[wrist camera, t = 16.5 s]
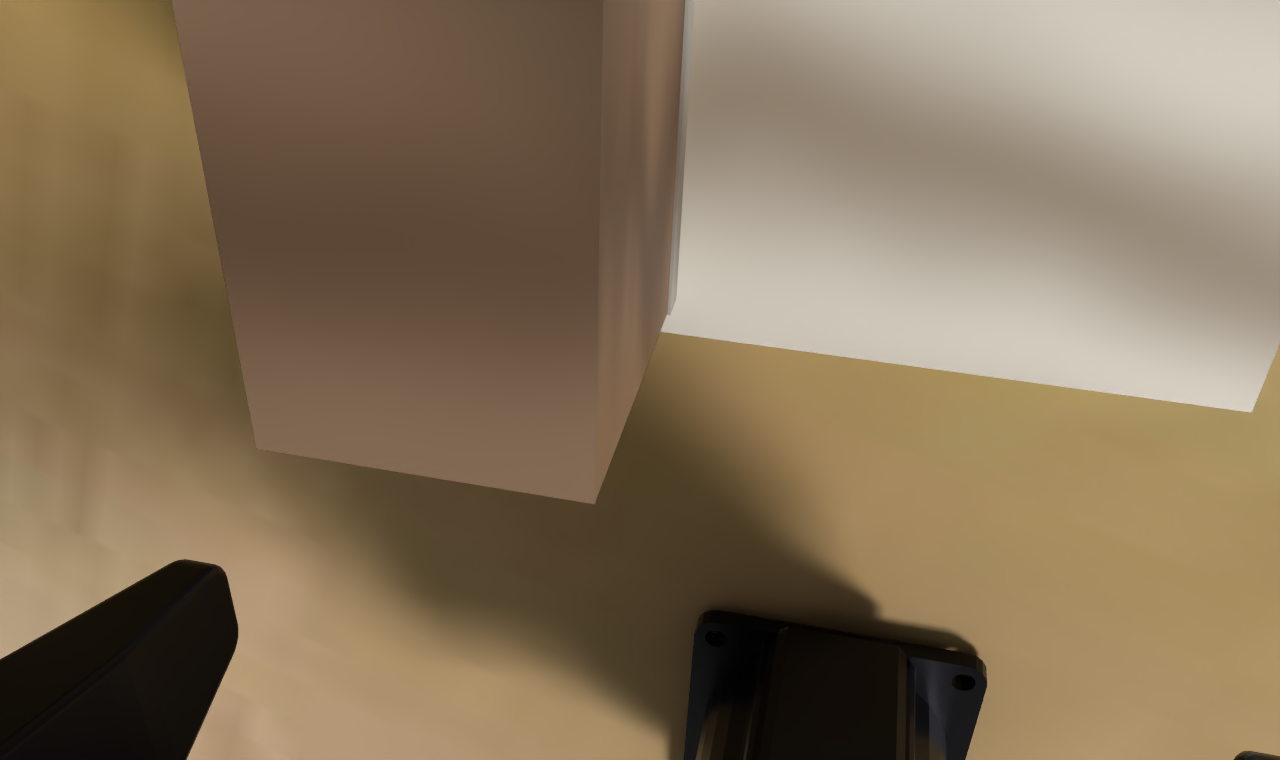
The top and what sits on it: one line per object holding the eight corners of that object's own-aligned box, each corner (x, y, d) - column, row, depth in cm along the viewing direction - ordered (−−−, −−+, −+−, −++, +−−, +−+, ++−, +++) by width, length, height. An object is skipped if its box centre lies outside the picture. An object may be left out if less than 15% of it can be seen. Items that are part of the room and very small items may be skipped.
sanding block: (676, 299, 20) (598, 507, 16) (409, 263, 21) (254, 451, 16) (702, -125, 16) (608, -26, 12) (373, -150, 17) (154, -68, 12)
